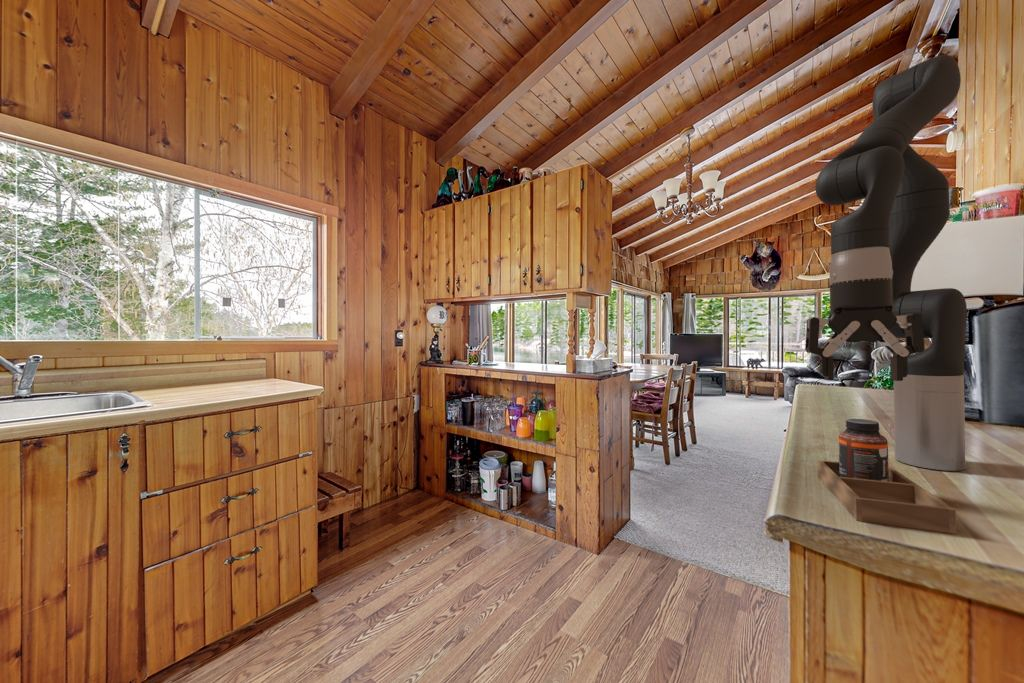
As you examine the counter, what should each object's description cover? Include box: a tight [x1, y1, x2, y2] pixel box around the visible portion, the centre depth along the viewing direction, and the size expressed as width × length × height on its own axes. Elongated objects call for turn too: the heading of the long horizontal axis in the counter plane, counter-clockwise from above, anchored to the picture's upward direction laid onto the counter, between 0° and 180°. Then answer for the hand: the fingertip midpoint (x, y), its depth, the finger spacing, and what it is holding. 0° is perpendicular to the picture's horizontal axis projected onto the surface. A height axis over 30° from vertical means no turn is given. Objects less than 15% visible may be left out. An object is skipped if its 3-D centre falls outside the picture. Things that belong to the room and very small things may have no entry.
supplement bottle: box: [838, 418, 889, 482], centre depth 63 cm, size 6×6×11 cm
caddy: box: [817, 459, 957, 535], centre depth 59 cm, size 18×10×3 cm, turn 155°
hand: (861, 380), depth 63 cm, fingers open, 8 cm apart
